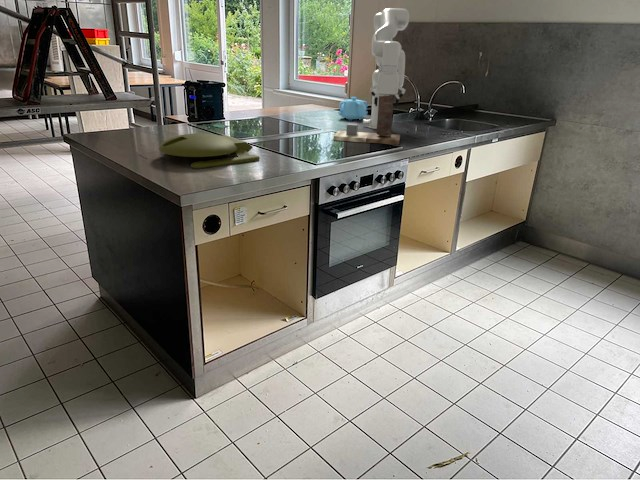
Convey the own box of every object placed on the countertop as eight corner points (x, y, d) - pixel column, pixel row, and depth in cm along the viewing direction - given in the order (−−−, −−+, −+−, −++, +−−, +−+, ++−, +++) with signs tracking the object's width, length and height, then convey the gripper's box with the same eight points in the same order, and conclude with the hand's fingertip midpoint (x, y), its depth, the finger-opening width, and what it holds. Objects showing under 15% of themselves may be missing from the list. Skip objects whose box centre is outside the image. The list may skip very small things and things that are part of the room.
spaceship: (225, 147, 217) (224, 125, 213) (262, 161, 195) (262, 137, 191) (148, 156, 197) (145, 132, 193) (179, 173, 174) (177, 146, 171)
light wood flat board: (333, 140, 239) (333, 136, 238) (338, 134, 254) (338, 130, 253) (398, 144, 234) (399, 140, 234) (399, 138, 249) (400, 134, 248)
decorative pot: (344, 122, 293) (345, 99, 288) (332, 117, 309) (333, 95, 304) (373, 121, 300) (375, 98, 294) (360, 116, 316) (361, 95, 311)
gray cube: (346, 134, 243) (346, 124, 241) (347, 133, 247) (348, 123, 245) (356, 135, 242) (356, 125, 240) (357, 133, 246) (357, 123, 244)
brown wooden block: (381, 138, 237) (384, 95, 230) (372, 135, 243) (376, 94, 236) (393, 137, 241) (397, 95, 233) (385, 134, 247) (388, 93, 239)
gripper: (370, 69, 228) (367, 106, 234) (407, 70, 225) (403, 108, 232) (371, 68, 235) (369, 104, 241) (407, 70, 232) (404, 106, 239)
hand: (386, 106), depth 236 cm, fingers open, 9 cm apart
